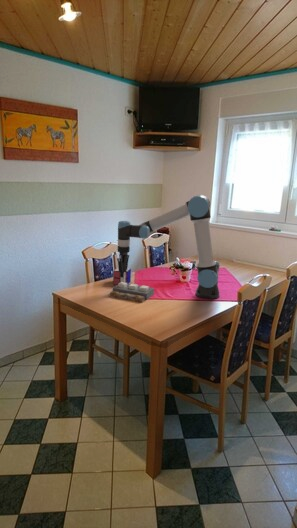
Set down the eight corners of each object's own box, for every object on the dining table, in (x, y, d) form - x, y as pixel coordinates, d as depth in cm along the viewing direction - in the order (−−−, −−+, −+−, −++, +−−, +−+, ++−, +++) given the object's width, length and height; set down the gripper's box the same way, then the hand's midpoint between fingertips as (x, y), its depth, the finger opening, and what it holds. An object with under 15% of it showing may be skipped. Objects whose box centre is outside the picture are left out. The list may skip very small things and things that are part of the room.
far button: (127, 288, 220) (127, 282, 219) (124, 290, 216) (124, 284, 215) (121, 287, 222) (121, 281, 221) (118, 289, 218) (118, 283, 217)
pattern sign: (144, 300, 207) (145, 296, 206) (142, 302, 203) (142, 298, 202) (112, 294, 215) (112, 290, 214) (109, 296, 211) (109, 292, 210)
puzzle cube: (127, 285, 233) (127, 272, 230) (113, 284, 234) (113, 270, 232) (130, 281, 242) (131, 268, 240) (117, 280, 244) (117, 267, 241)
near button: (148, 292, 215) (148, 286, 214) (146, 294, 211) (146, 288, 210) (142, 291, 217) (142, 285, 216) (139, 293, 213) (139, 287, 212)
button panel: (153, 294, 218) (154, 288, 217) (146, 299, 208) (146, 293, 206) (120, 288, 227) (121, 282, 226) (112, 293, 216) (112, 287, 215)
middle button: (137, 290, 218) (138, 284, 217) (135, 292, 214) (135, 286, 213) (131, 289, 219) (131, 283, 218) (128, 291, 215) (128, 285, 214)
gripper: (122, 243, 219) (122, 278, 225) (113, 246, 207) (112, 283, 213) (133, 244, 217) (132, 279, 223) (124, 248, 205) (123, 285, 211)
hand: (122, 281), depth 218 cm, fingers closed
